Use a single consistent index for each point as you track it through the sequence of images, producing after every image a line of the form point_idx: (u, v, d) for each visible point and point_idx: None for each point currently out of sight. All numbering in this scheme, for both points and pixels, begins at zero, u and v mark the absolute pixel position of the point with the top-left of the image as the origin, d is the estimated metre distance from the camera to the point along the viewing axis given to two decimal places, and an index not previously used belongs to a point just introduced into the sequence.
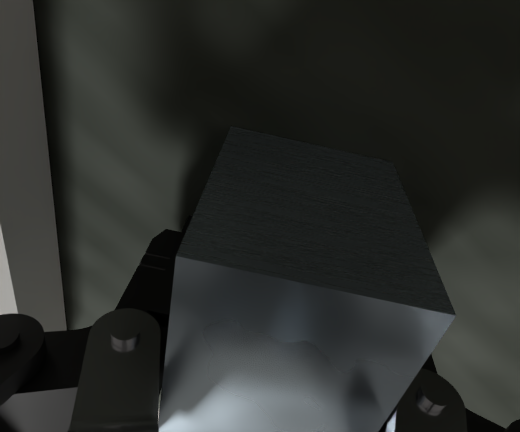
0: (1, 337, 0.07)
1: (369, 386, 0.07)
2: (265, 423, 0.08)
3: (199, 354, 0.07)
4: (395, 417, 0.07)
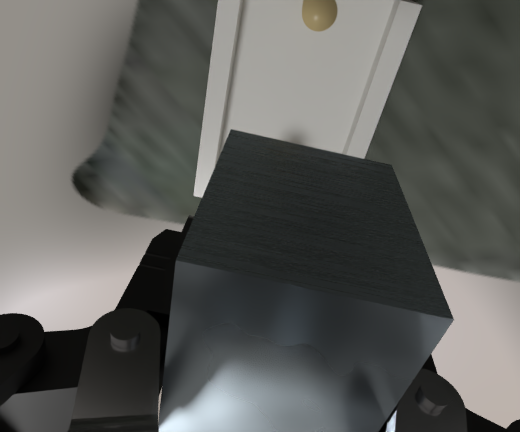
0: (1, 337, 0.07)
1: (368, 389, 0.07)
2: (264, 425, 0.08)
3: (199, 357, 0.07)
4: (395, 417, 0.07)
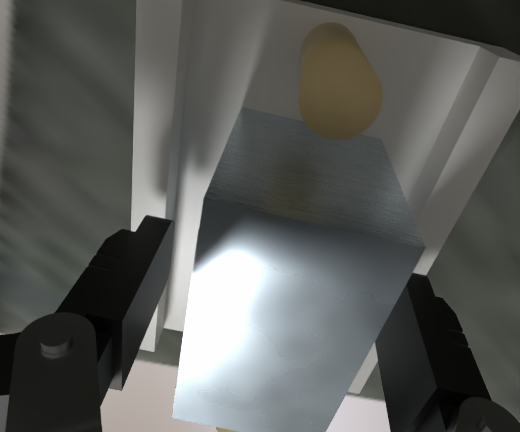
0: None
1: (358, 314, 0.08)
2: (271, 352, 0.09)
3: (218, 287, 0.08)
4: None
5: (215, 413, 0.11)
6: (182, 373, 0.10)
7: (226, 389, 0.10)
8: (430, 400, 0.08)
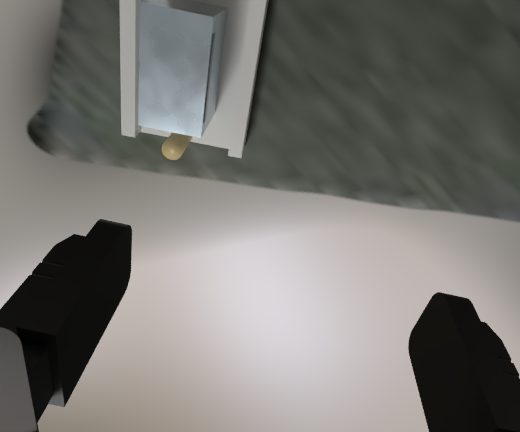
0: None
1: (199, 51, 0.23)
2: (172, 76, 0.24)
3: (149, 42, 0.23)
4: None
5: (156, 119, 0.25)
6: (140, 94, 0.24)
7: (158, 102, 0.25)
8: None
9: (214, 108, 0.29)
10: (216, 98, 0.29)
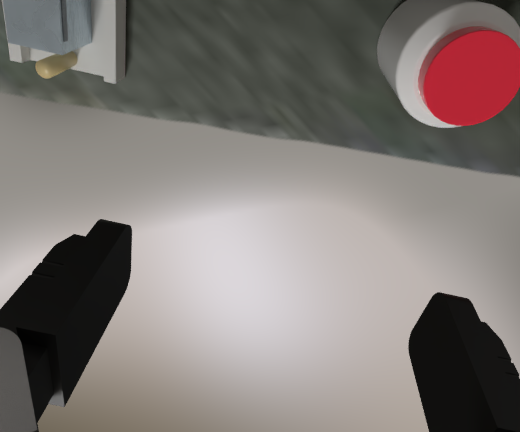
0: None
1: None
2: None
3: None
4: None
5: (22, 37, 0.30)
6: (5, 13, 0.29)
7: (22, 21, 0.29)
8: None
9: (88, 37, 0.33)
10: (90, 28, 0.33)
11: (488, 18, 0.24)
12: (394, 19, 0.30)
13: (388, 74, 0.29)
